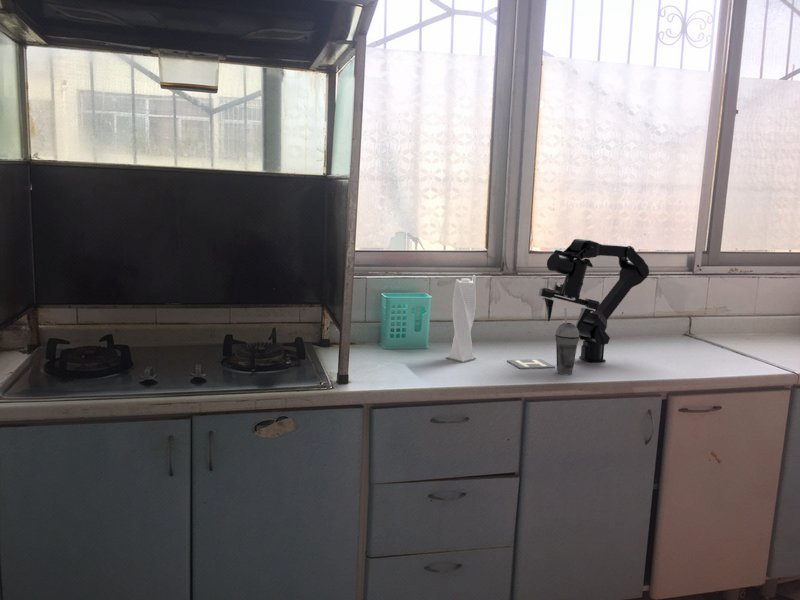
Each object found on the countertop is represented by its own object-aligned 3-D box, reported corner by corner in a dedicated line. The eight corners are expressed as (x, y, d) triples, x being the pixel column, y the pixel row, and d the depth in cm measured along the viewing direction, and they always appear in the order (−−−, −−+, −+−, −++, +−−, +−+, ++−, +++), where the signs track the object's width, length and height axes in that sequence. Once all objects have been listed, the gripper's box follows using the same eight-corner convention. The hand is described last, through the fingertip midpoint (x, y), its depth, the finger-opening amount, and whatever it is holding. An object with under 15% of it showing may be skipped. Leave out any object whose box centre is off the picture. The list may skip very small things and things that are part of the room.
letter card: (540, 360, 226) (540, 358, 226) (555, 367, 216) (555, 366, 216) (506, 361, 223) (506, 360, 223) (520, 369, 213) (520, 367, 213)
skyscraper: (479, 360, 223) (484, 274, 219) (464, 364, 217) (469, 276, 213) (459, 355, 228) (463, 271, 224) (443, 359, 223) (448, 273, 218)
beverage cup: (577, 376, 206) (582, 311, 203) (552, 374, 208) (557, 309, 205) (576, 370, 214) (581, 307, 210) (552, 368, 215) (556, 305, 212)
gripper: (596, 284, 228) (584, 330, 228) (542, 270, 228) (530, 316, 229) (605, 285, 217) (592, 332, 217) (547, 270, 217) (535, 318, 218)
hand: (562, 324), depth 221 cm, fingers open, 9 cm apart
